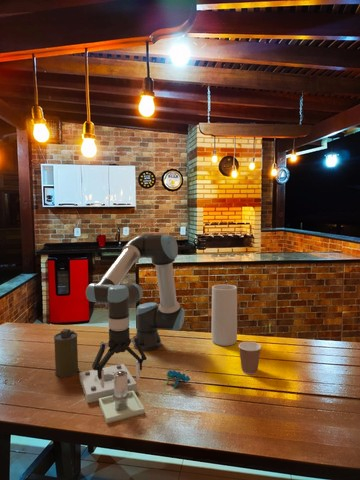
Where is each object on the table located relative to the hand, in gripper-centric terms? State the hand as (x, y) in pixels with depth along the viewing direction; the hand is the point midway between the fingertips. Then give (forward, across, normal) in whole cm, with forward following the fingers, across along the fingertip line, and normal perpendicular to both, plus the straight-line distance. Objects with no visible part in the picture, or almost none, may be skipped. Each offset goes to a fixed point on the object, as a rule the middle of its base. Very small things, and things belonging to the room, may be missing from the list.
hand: (120, 382), depth 129 cm
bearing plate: (+10, +1, -19) cm, 21 cm away
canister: (+11, +15, -40) cm, 44 cm away
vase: (+11, -70, -39) cm, 81 cm away
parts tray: (+10, 0, 0) cm, 10 cm away
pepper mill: (+10, 0, 0) cm, 10 cm away
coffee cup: (+11, -62, -4) cm, 63 cm away
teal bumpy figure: (+11, -27, -7) cm, 30 cm away
